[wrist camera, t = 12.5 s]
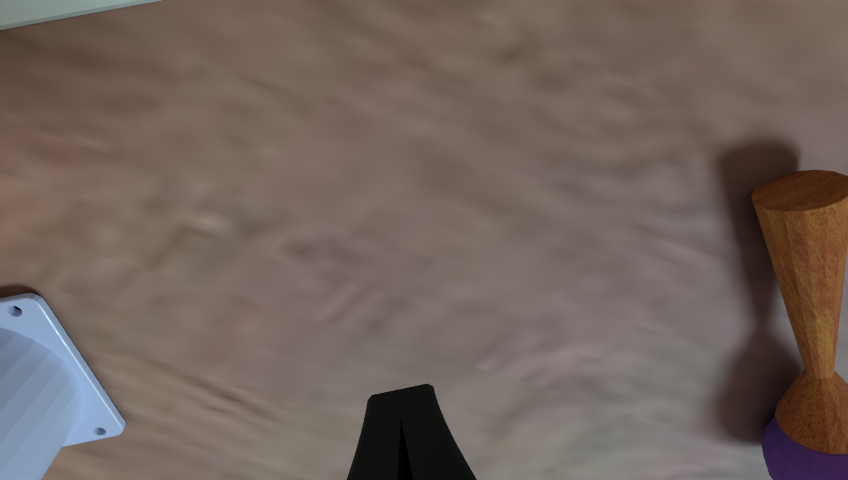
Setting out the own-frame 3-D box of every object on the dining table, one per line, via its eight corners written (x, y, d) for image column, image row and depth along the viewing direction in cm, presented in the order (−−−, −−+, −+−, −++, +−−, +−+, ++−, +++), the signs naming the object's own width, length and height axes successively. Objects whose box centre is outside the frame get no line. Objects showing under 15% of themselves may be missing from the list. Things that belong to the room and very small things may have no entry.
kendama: (948, 170, 17) (937, 509, 25) (791, 146, 23) (822, 431, 31) (812, 248, 17) (844, 568, 25) (684, 205, 22) (744, 479, 30)
